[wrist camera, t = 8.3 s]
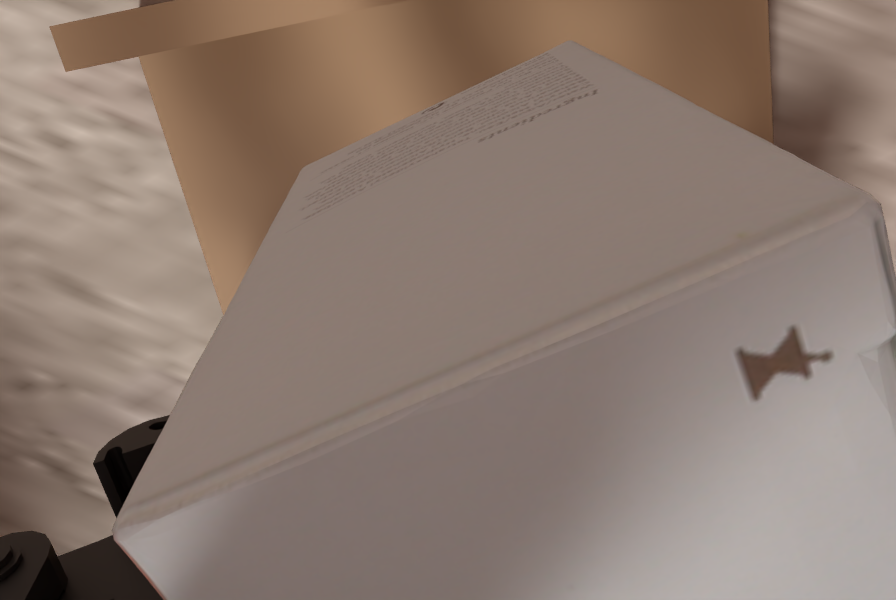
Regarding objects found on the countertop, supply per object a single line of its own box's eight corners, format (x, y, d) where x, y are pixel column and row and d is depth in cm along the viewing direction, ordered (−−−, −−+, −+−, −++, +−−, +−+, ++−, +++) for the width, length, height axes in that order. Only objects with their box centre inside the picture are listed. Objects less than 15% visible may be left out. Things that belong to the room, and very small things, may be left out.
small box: (297, 163, 15) (66, 518, 5) (575, 31, 14) (894, 166, 5) (471, 486, 18) (526, 1100, 8) (712, 390, 17) (1086, 943, 7)
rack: (311, 547, 31) (264, 796, 22) (138, 12, 24) (-46, 41, 14) (773, 464, 31) (930, 685, 21) (746, -116, 23) (972, -176, 14)
